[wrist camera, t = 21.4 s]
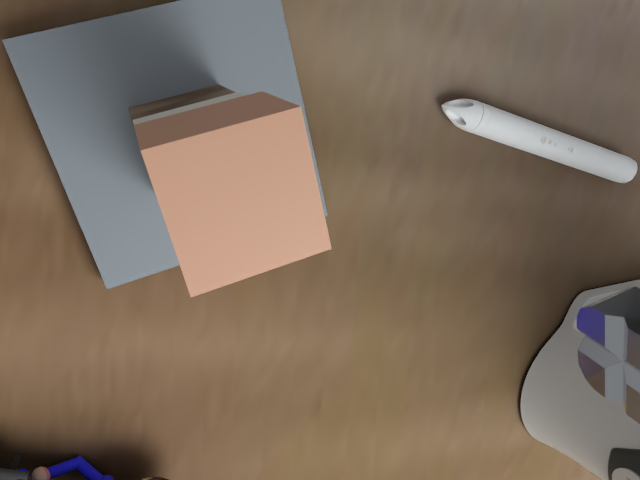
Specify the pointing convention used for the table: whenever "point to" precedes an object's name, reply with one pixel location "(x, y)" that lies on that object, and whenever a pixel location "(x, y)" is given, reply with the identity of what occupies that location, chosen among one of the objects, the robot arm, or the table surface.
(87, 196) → the board
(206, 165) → the brick terracotta
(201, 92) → the brick walnut
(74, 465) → the character figurine
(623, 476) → the robot arm
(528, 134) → the marker
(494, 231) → the table surface
